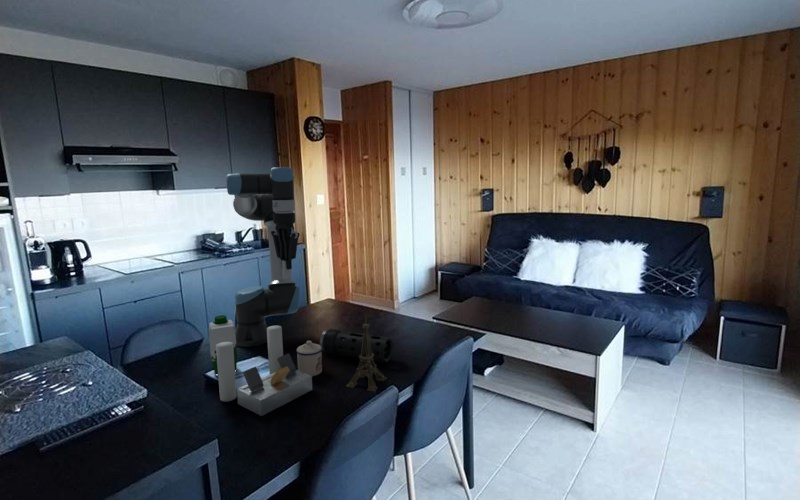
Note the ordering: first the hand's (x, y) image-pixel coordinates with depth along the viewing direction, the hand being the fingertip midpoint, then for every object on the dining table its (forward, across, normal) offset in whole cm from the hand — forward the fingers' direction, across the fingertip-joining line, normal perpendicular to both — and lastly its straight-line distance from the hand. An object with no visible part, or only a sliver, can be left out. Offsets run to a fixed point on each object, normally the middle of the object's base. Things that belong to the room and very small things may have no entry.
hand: (287, 277), depth 156 cm
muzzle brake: (+35, +13, +21) cm, 43 cm away
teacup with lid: (+35, +7, +3) cm, 35 cm away
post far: (+34, +1, -8) cm, 35 cm away
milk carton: (+35, -18, -16) cm, 42 cm away
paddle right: (+29, +13, -10) cm, 34 cm away
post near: (+34, +1, -26) cm, 43 cm away
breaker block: (+34, +13, -17) cm, 41 cm away
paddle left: (+29, +13, -24) cm, 40 cm away
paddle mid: (+29, +13, -17) cm, 36 cm away
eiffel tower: (+35, +30, +8) cm, 47 cm away
